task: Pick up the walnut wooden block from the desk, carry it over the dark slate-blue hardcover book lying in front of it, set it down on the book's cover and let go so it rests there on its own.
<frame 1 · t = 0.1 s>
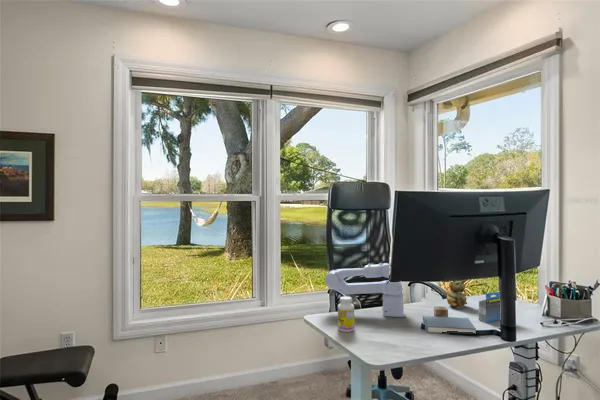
hand: (438, 267, 163), 22 cm above the table, tool horizontal, fingers open, 7 cm apart
book: (447, 328, 148), on the table
walnut block: (441, 319, 159), on the table
decorative figurine: (455, 306, 179), on the table
supplement bottle: (346, 330, 148), on the table
label tape box: (490, 320, 157), on the table
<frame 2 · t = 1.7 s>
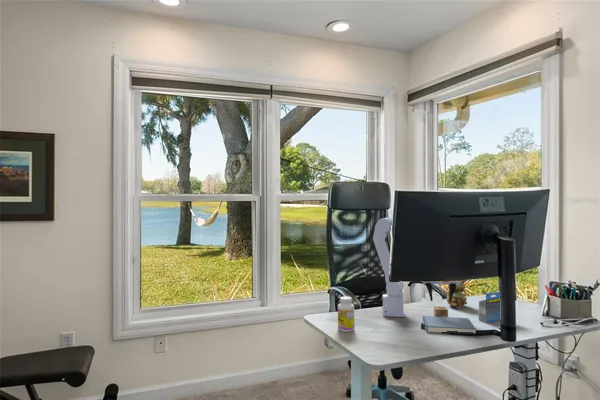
hand: (440, 300, 159), 8 cm above the table, tool pointing down, fingers open, 7 cm apart
nothing on the table moved.
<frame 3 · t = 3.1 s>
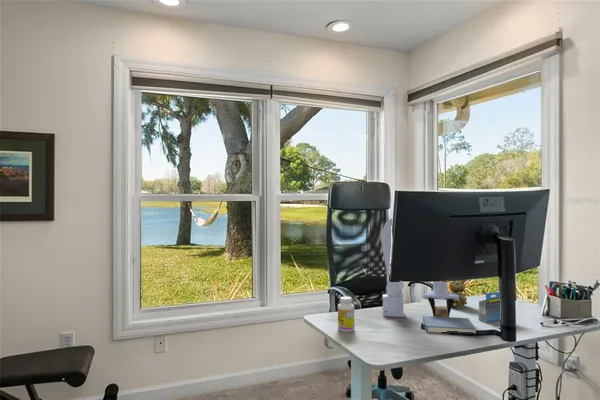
hand: (440, 316, 159), 1 cm above the table, tool pointing down, fingers closed on walnut block, 5 cm apart
walnut block: (441, 319, 159), on the table, touching gripper
everything else where it was.
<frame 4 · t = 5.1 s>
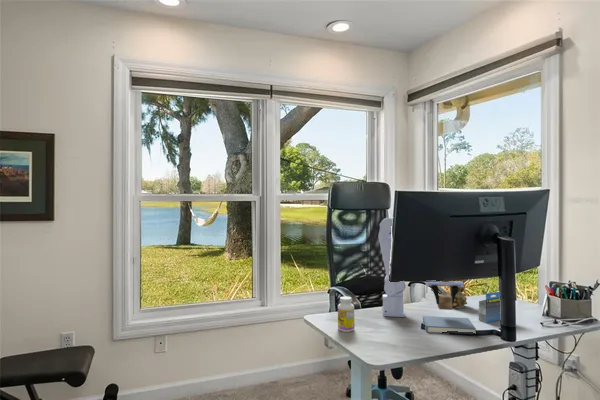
hand: (444, 303, 153), 8 cm above the table, tool pointing down, fingers closed on walnut block, 5 cm apart
walnut block: (444, 307, 153), point 7 cm above the table, touching gripper
everything else where it was.
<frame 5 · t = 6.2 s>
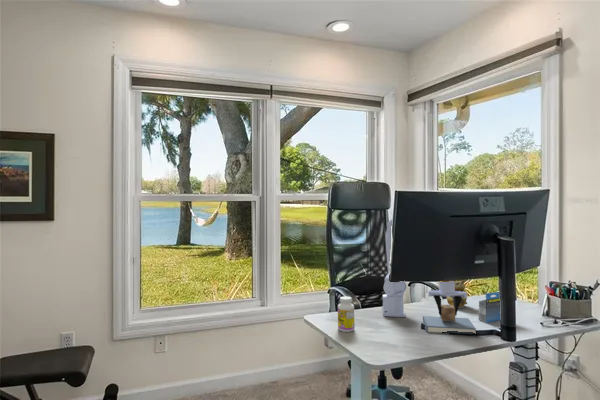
hand: (447, 314, 148), 5 cm above the table, tool pointing down, fingers closed on walnut block, 5 cm apart
walnut block: (447, 318, 149), point 4 cm above the table, touching gripper
everything else where it was.
when the fingers open (5 cm above the table, at t = 7.1 s): walnut block drops 1 cm, resting on book.
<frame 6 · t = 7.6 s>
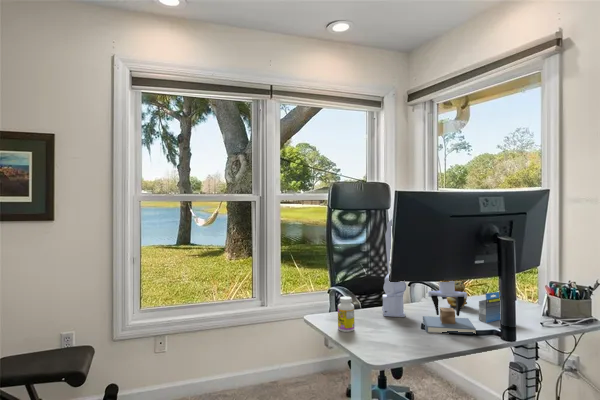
hand: (447, 314, 148), 5 cm above the table, tool pointing down, fingers open, 7 cm apart
book: (447, 328, 148), on the table, touching walnut block
walnut block: (447, 321, 149), point 2 cm above the table, touching book
everything else where it was.
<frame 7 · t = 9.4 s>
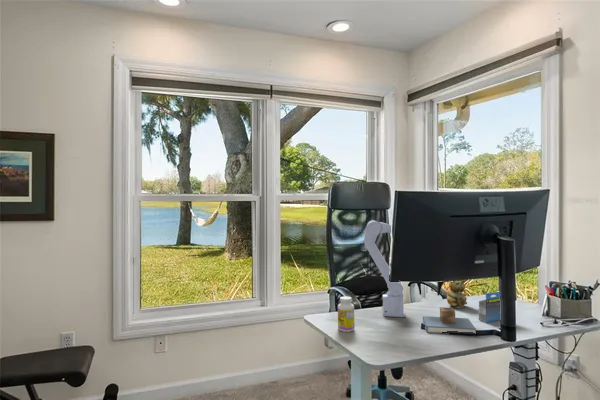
hand: (429, 294, 165), 9 cm above the table, tool pointing down, fingers open, 7 cm apart
nothing on the table moved.
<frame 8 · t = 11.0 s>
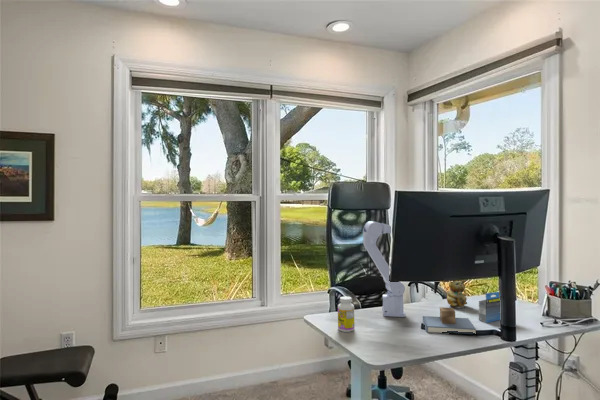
hand: (426, 292, 168), 9 cm above the table, tool pointing down, fingers open, 7 cm apart
book: (447, 328, 148), on the table
walnut block: (447, 321, 149), point 2 cm above the table
everything else where it was.
at the end: walnut block inside the target area on the book (0.4 cm from its centre), point 2.7 cm above the book's base; walnut block tilted 0°; the gripper is holding nothing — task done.
